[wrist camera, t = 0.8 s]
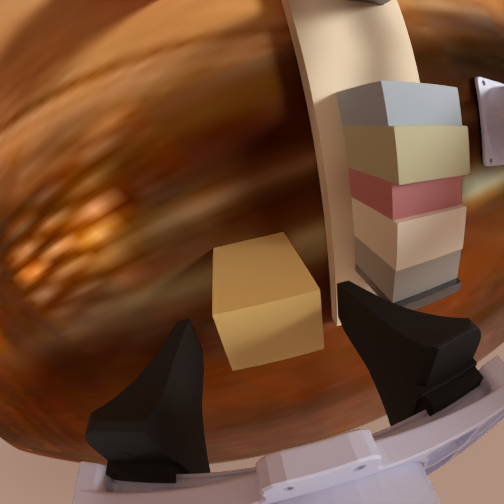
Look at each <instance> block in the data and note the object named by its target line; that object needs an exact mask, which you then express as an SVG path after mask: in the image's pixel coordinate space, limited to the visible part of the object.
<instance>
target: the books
mask: <svg viewBox="0 0 504 504" xmlns="http://www.w3.org/2000/svg"><path fill="white" fill-rule="evenodd" d="M336 93H337V98H338V104H339V109H340V115H341V120H342V127H343V133H344V139H345V146H346V154H347V161H348V170H349V178H350V188H351V199H352V211H353V225H354V243H355V263H356V264H357V265H358V266H359V267H360V268H361V270H362V271H363V272H364V273H365V274H366V275H367V276H368V277H369V278H370V279H371V280H372V281H373V282H374V283H375V284H376V285H377V287H378V288H379V289H380V290H381V291H382V292H383V293H384V294H385V295H386V296H387V298H388V299H389V300H390V301H391V302H392V303H394V302H397V301H400V300H403V299H405V298H408V297H411V296H413V295H416V294H419V293H421V292H424V291H426V290H429V289H431V288H434V287H436V286H439V285H441V284H443V283H446V282H448V281H451V280H453V279H455V278H457V273H458V268H459V261H460V255H461V249H463V241H464V231H465V220H466V206H464V205H462V175H469V174H470V155H469V137H468V126H462V118H461V110H460V102H459V96H458V90H457V88H456V87H449V86H442V85H435V84H426V83H415V82H402V81H377V82H373V83H368V84H364V85H360V86H357V87H353V88H349V89H346V90H342V91H338V92H336Z"/></svg>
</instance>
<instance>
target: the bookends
mask: <svg viewBox="0 0 504 504" xmlns="http://www.w3.org/2000/svg"><path fill="white" fill-rule="evenodd" d="M348 1H357V2H365V3H372V4H378V5H384V4H385V3H387V2H389V1H391V0H348ZM355 271H356V272H357V273H358V274H359V275H360V276H361V277H362V279H363V280H364V281H365V282H366V283H367V284H368V285H369V286H370V288H371V289H372V290H373V291H374V292H375V293H376V294H377V296H379V297H381V298H383V299H385V300H388V301H390V300H389V299H388V298H387V296H386V295H385V294H384V293H383V292H382V291H381V290H380V289H379V288H378V287H377V285H376V284H375V283H374V282H373V281H372V280H371V279H370V278H369V277H368V276H367V275H366V274H365V273H364V272H363V271H362V270H361V268H360V267H359V266H358V265H357V264H356V263H355ZM461 283H462V282H461V281H460V280H459V279H457V278H455V279H453V280H451V281H448V282H446V283H443V284H441V285H439V286H436V287H434V288H431V289H429V290H426V291H424V292H421V293H419V294H416V295H413V296H411V297H408V298H405V299H403V300H400V301H397V302H394V304H397V305H399V306H402V307H405V308H408V309H411V310H416V309H418V308H421V307H423V306H425V305H428V304H430V303H432V302H435V301H437V300H439V299H442V298H444V297H446V296H448V295H451V294H453V293H455V292H457V291H459V290H460V287H461ZM390 302H391V301H390Z"/></svg>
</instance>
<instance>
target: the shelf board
mask: <svg viewBox="0 0 504 504" xmlns="http://www.w3.org/2000/svg"><path fill="white" fill-rule="evenodd" d="M281 2H282V6H283V9H284V12H285V16H286V19H287V23H288V27H289V30H290V34H291V38H292V42H293V46H294V50H295V54H296V58H297V62H298V66H299V71H300V75H301V79H302V84H303V89H304V93H305V98H306V103H307V108H308V113H309V119H310V124H311V130H312V135H313V141H314V147H315V154H316V160H317V167H318V173H319V180H320V188H321V195H322V203H323V212H324V221H325V230H326V240H327V251H328V263H329V276H330V291H331V309H332V318H333V320H334V322H335V323H336V325H337V326H340V325H342V324H341V322H340V320H339V318H338V301H337V283H341V282H344V281H351V282H353V283H354V284H356V285H358V286H360V287H362V288H364V289H366V290H367V291H369V292H371V293H373V294H375V295H377V294H376V293H375V292H374V291H373V290H372V289H371V288H370V286H369V285H368V284H367V283H366V282H365V281H364V280H363V279H362V277H361V276H360V275H359V274H358V273H357V272H356V271H355V243H354V225H353V211H352V199H351V188H350V178H349V170H348V161H347V154H346V146H345V139H344V133H343V127H342V120H341V115H340V109H339V104H338V98H337V93H336V92H338V91H342V90H346V89H349V88H353V87H357V86H360V85H364V84H368V83H373V82H377V81H402V82H415V83H420V81H419V76H418V71H417V67H416V62H415V58H414V54H413V50H412V46H411V43H410V39H409V35H408V32H407V29H406V25H405V22H404V19H403V16H402V13H401V10H400V7H399V5H398V2H397V0H391V1H389V2H387V3H385V4H384V5H378V4H372V3H365V2H357V1H348V0H281Z"/></svg>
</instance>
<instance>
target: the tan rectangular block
mask: <svg viewBox="0 0 504 504" xmlns="http://www.w3.org/2000/svg"><path fill="white" fill-rule="evenodd" d="M212 316H213V319H214V321H215V324H216V327H217V330H218V333H219V335H220V338H221V341H222V344H223V346H224V349H225V352H226V354H227V357H228V360H229V362H230V365H231V367H232V370H233V371H234V370H239V369H244V368H249V367H254V366H258V365H263V364H267V363H271V362H275V361H280V360H284V359H288V358H292V357H295V356H299V355H303V354H307V353H310V352H314V351H317V350H321V349H324V338H323V321H322V307H321V294H320V289H319V287H318V285H317V284H316V282H315V281H314V279H313V277H312V276H311V274H310V272H309V271H308V269H307V268H306V266H305V265H304V263H303V261H302V260H301V258H300V257H299V255H298V253H297V252H296V250H295V249H294V247H293V246H292V244H291V243H290V241H289V239H288V238H287V236H286V235H285V233H284V232H281V233H276V234H272V235H268V236H263V237H259V238H255V239H250V240H246V241H242V242H237V243H233V244H229V245H224V246H220V247H216V248H213V287H212Z"/></svg>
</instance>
